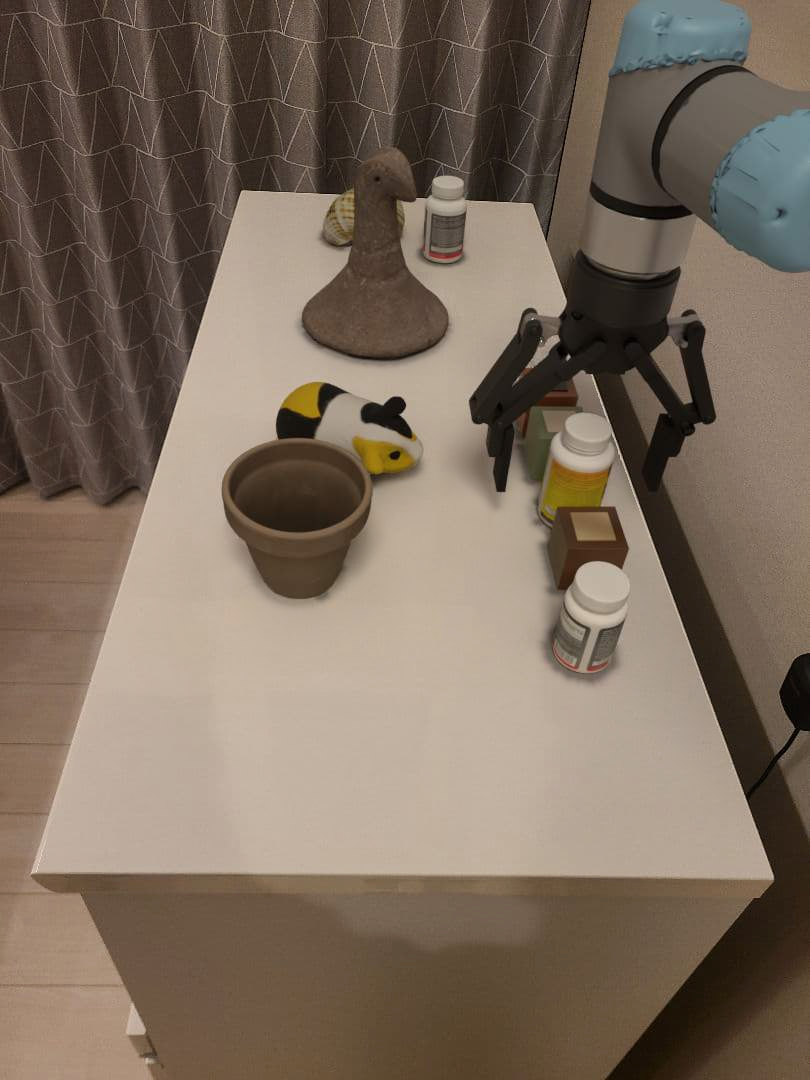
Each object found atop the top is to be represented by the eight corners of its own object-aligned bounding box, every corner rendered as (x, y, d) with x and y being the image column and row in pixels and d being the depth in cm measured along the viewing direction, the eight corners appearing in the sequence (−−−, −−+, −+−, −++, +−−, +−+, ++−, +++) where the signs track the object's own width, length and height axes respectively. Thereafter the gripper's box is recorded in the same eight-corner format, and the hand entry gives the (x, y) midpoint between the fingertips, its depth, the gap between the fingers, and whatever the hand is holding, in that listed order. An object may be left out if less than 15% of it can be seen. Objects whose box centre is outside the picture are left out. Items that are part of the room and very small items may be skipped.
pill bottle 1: (470, 257, 111) (478, 183, 104) (440, 268, 109) (447, 194, 102) (443, 242, 114) (449, 169, 107) (413, 252, 112) (417, 179, 105)
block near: (615, 589, 71) (629, 547, 67) (557, 589, 70) (568, 547, 67) (602, 547, 74) (615, 504, 70) (547, 547, 74) (557, 504, 70)
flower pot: (397, 560, 72) (402, 471, 65) (316, 646, 65) (312, 558, 58) (291, 506, 76) (285, 417, 69) (205, 582, 69) (188, 492, 62)
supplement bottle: (602, 535, 75) (629, 447, 68) (542, 536, 75) (562, 447, 67) (588, 493, 79) (612, 406, 72) (531, 494, 79) (549, 406, 71)
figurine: (399, 512, 76) (403, 443, 70) (260, 460, 80) (253, 391, 75) (437, 461, 81) (443, 393, 76) (304, 415, 86) (301, 347, 80)
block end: (569, 437, 85) (579, 395, 81) (521, 437, 85) (528, 395, 81) (560, 407, 89) (569, 366, 85) (513, 407, 88) (520, 366, 85)
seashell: (305, 235, 112) (324, 157, 108) (349, 246, 120) (368, 173, 116) (363, 256, 107) (385, 175, 104) (404, 266, 115) (426, 191, 112)
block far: (582, 479, 80) (593, 437, 77) (531, 479, 80) (539, 437, 76) (572, 446, 84) (582, 405, 80) (523, 446, 84) (531, 404, 80)
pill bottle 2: (610, 631, 67) (635, 561, 61) (612, 679, 64) (638, 609, 58) (551, 623, 68) (571, 552, 62) (550, 670, 64) (570, 600, 58)
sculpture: (427, 374, 92) (441, 194, 77) (282, 347, 94) (270, 167, 80) (460, 300, 103) (477, 131, 89) (330, 278, 106) (327, 109, 92)
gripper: (779, 235, 63) (698, 455, 78) (450, 229, 61) (431, 455, 76) (820, 283, 57) (724, 509, 72) (460, 279, 56) (438, 511, 71)
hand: (574, 482), depth 74 cm, fingers open, 13 cm apart
